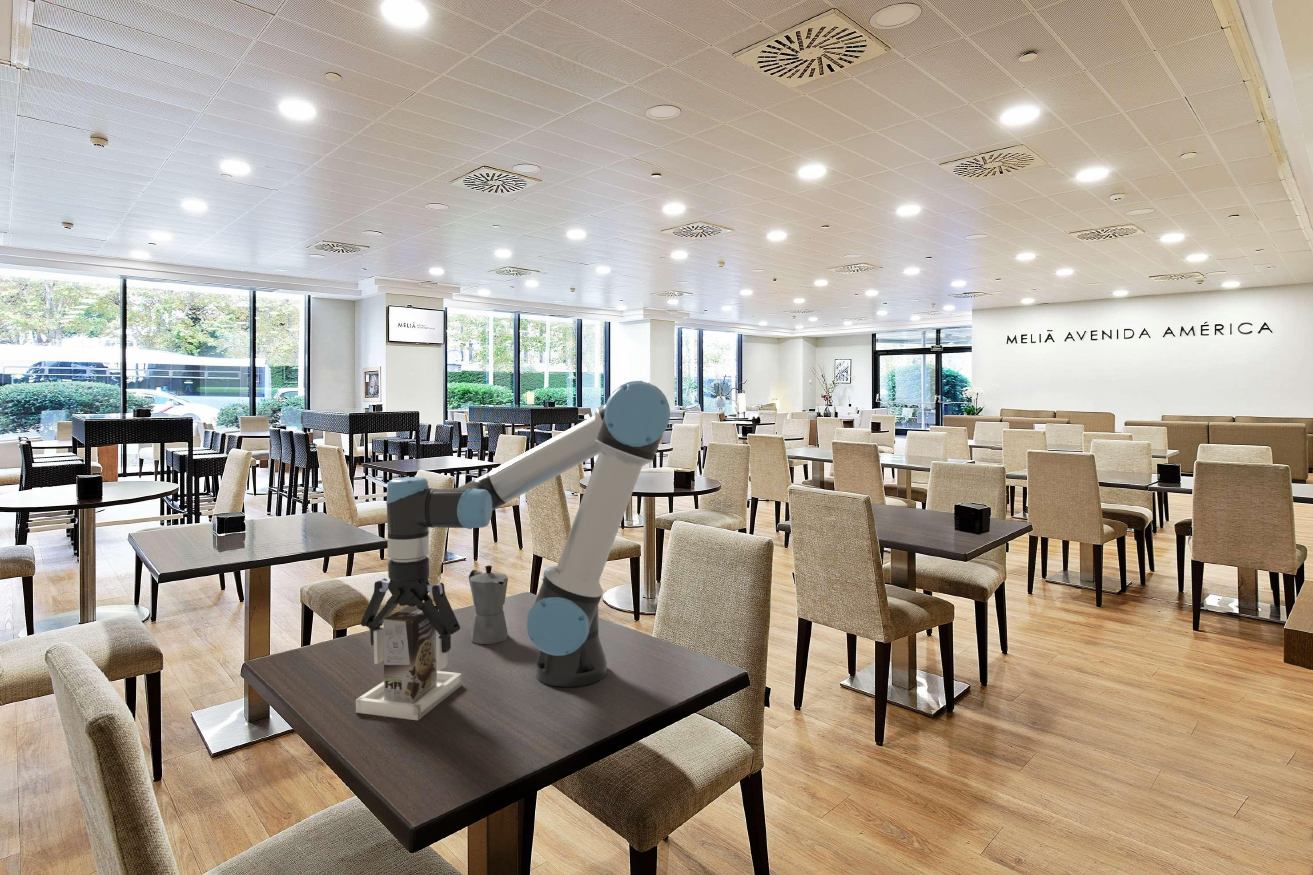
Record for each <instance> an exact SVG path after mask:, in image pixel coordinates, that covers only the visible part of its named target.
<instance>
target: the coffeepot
mask: <svg viewBox="0 0 1313 875" xmlns="http://www.w3.org/2000/svg"><path fill="white" fill-rule="evenodd" d="M484 568H485V572H482V571H480V570H477V569H472V570H471V571H470V572H469V575H468V581H469V585H470V591H471V597H472V603H473V605H474V613H473V617H472V624H471V629H470V630H471V632H470V640H471V642H472V643H474V644H478V645H493V644H499V643H501V642H504V641H505V640H507V639H508V638H509V634H508V627H507V623H506V621H507V620H506V616H505V612H504V605H505V603H506V596H507V594H506V593H507V588H508V582H509V578H508V575H506V573H498V572H497V573H496V572H492V568H493V566H492V565H486V566H484Z"/></svg>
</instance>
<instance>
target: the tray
mask: <svg viewBox="0 0 1313 875" xmlns="http://www.w3.org/2000/svg"><path fill="white" fill-rule="evenodd" d="M462 686H463V674H462V673H459V672H451V671H443V670H441V671H437V686H435V687H434V688H433V689H432V690H430V691H429V692H428V693H426V694H425V695H424V696H422V697H421V698H420V699H418V700H417V701H416V702H415V703H413V704H410V703H402V702H394V701H385V700H384V681H381V683H379V684H377V685H376V686H375V687H373V688H371V689H370V690H368V691H366V692H365V693H363V694H362V695H361V696H359V697H358V698H355V714H357V713H358V714H365V715H373V716H379V717H381V716H382V717H387V718H388V717H389V718H395V719H396V718H397V719H405V720H412V721H419V720H420V719H421V718H423V717H424V716H425V715H427V714H428V713H430V712H431V711H432V710H433V709H434V708H435V707H436V706H438V705H439V704H440V703H441V702H443V701H444V700H445V699H447V698H448V697H449V696H451V695H452V694H453V693H454V692H455V691H458V689H459V688H461V687H462Z"/></svg>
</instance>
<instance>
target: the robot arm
mask: <svg viewBox="0 0 1313 875" xmlns="http://www.w3.org/2000/svg"><path fill="white" fill-rule="evenodd" d="M670 418H671V408H670V404H669V401H668V399H667V397H666V395H665V393H663V391H662V390H661V388H659V387H658V386H656V385H654V384H651V383H650V382H647V381H642V380H633V381H628V382H625V383H623V384H621V385H620V386H618V387H617V388H616V389H615V390H614V391H612V393H611V394H610V396H609V397H608V399H607V400H606V403H603V405H601V406H599V407H597V408H596V410H595V412H594V414H593V415H592V416H591V417H590V416H589V417H588V418H586V419H585V420H583V421H580V423H577V424H576V425H574V426H572V427H570V428H568V429H566V430H564V431H562V432H560V433H559V434H557V435H555V436H553V437H551V438H549V439H548V440H546V441H544V442H541V443H540V444H538V445H536V446H534V447H533V448H530V449H529V450H527V451H526V452H523V453H521V454H520V455H518V456H516V457H514V458H512V459H511V460H509V461H507V462H505V463H503V464H501V465H499V466H498V467H495V468H493V469H492V470H490V471H487V473H484V474H482V475H480V476H479V477H477V478H475V479H473V480H470V481H469V482H467V483H466V484H462V485H460V486H458V487H456V488H432V487H431V488H430V486H429V483H428V480H427V479H426V478H425V477H417V476H411V477H408V476H407V477H397V478H392V479H391V480H390V481H389V482H387V486H386V487H387V488H386V489H387V490H386V502H385V505H386V517H387V518H386V519H387V521H386V522H387V557H388V558H389V560H388V562H387V569H388V570H387V572H388V573H387V574H388V579H389V580H388V579H387V578H385V577H384V578H382V579H379V580H377V581H375V582H374V585H373V586H374V588H373V593H372V596H371V598H370V601H369V603H368V604H367V607H366V610H365V611H364V614H363V616H362V619H361V621H360V625H361V627H367V628H369V631H370V633H369V634H370V645H371V646H373V660H374V661H373V663H374V665H379V664H381V663H382V662H384V621H383V619H385V618H387V617H389V616H391V615H392V613H393V611H394V610H395V609H396V608H397V607H398V606H400V607H404V606H407V607H408V606H411V607H417V608H418V609H419V610H422V612H423V613H424V614H425V616H426V617H427V618H428V620H429V621H430V623H431V624H432V625H433V627H434V628H435V629H436V633H437V634H438V635H436V670H437V671H443V669H445V668H446V667H448V652H449V651H451V648H452V645H451V644H452V641H451V640H452V639H451V636H452V635H453V634H456V633H457V632H458V631H460V629H461V625H460V623H459V622H458V619H457V617H456V615H455V613H454V610H453V607H452V606H451V604H450V601H449V600H448V597H447V595H446V591H445V584H444V583H443V582H438V583H436V584H430V581H429V576H430V558H429V557H428V555H429V554H430V553H429V552H430V550H429V549H430V547H429V546H430V545H429V543H430V541H429V537H430V536H429V534H430V532H429V528H431V529H432V528H433V529H434V528H438V529H439V528H440V529H441V528H442V529H443V528H445V529H447V528H448V529H449V528H451V529H452V528H454V529H468V530H472V529H476V528H479V529H480V528H485V527H487V526H488V525H489V524H490V522H491V519H492V516H493V511H494V510H496V509H498V508H500V507H502V506H503V505H505V504H508V503H509V502H511V501H512V500H514V499H517V498H519V497H520V496H522V495H523V494H525V493H528V492H529V491H530V492H531V490H534V489H535V488H538V487H539V486H541V485H543V484H544V483H546V482H548V481H551V480H553V479H554V478H557V476H560V475H562V474H564V473H565V472H568V471H569V470H571V469H573V468H575V467H577V466H579V465H582V464H583V463H585V462H587V461H588V460H590V459H593V458H594V457H596V456H597V458H596V461H595V463H594V466H593V469H592V471H591V474H590V477H589V479H588V481H587V484H586V487H585V490H584V493H583V494H582V498H581V501H580V502H579V503H580V504H579V506H578V509H577V512H576V515H575V517H574V520H573V521H572V522H573V523H572V525H571V528H570V530H569V533H568V536H567V537H566V541H565V544H564V546H563V549H562V552H561V554H560V557H559V560H558V562H557V565H554V566H549V567H546V568H545V569H544V570H543V575H542V582H541V585H540V588H539V591H538V593H537V596H536V599H535V601H534V604H533V605H532V606H531V607H530V609H529V611H528V613H527V615H526V616H527V617H526V632H527V635H528V637H529V640H530V641H531V642H532V644H533V645H534V646H535V647H536V648H537V649H538V650H539V652H538V655H537V658H536V662H535V677H536V679H537V680H538V681H539V682H541V683H544V684H546V685H549V686H554V687H564V688H569V687H572V688H573V687H582V686H586V685H590V684H594V683H596V682H599V681H600V680H602V679H603V678H605V676H606V675H607V673H608V671H607V670H608V666H607V664H608V662H607V658H606V656H605V652H604V649H603V646H602V642H601V641H600V637H599V634H600V633H599V604H600V602H601V599H602V596H603V593H604V590H603V588H602V586H601V584H600V580H601V577H602V573H603V572H604V569H605V566H606V563H607V561H608V558H609V556H610V553H611V550H612V547H613V545H614V542H615V540H616V537H617V534H618V532H619V529H620V527H621V524H622V521H623V519H624V516H625V513H626V511H627V508H628V505H629V502H630V500H631V498H632V494H633V492H634V490H635V487H636V484H637V482H638V480H639V479H638V478H639V476H640V473H641V470H642V469H643V467H644V466H645V465H648V464H650V463H652V462H653V461H654V459H655V456H656V453H657V452H658V448H659V447H660V446H659V445H660V443H661V440H662V437H663V436H664V433H665V432H666V430H667V428H668V426H669V423H670V420H671V419H670ZM387 591H389V592H390V594H391V596H390V597H389V598H388V600H387V601H386V602H385V604H384V606H383V608H381V610H380V611H379V609H380V607H381V604H382V602H383V601H384V598H385V596H386V594H387ZM429 593H430V595H429ZM430 596H432V598H431V597H430ZM433 602H434V603H433ZM378 612H379V613H378Z"/></svg>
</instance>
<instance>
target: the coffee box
mask: <svg viewBox="0 0 1313 875" xmlns="http://www.w3.org/2000/svg"><path fill="white" fill-rule="evenodd" d="M383 621H384V623H383V627H384V661H383V682H384V700H385V701H394V702H402V703H410V704H413V703H415V702H416V701H417V700H418V699H420V698H421V697H422V696H424V695H425V694H426V693H428V692H429V691H430V690H432V689H433V688H434V687H435V686H437V670H436V637H437V631H436V629H435V628H434V627H433V625H432V624H431V623H430V621H429V620H428V618H427V617H426V616H425V614H424V613H423V612H422V610H419V609H418V608H417V606H414V607H411V606H408V605H407V606H406V607H404V608H403V609H400V610H399V611H397V612H395V613H393V614H392V613H391V614H390V615H389V616H388V617H387V618H385V619H383Z"/></svg>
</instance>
